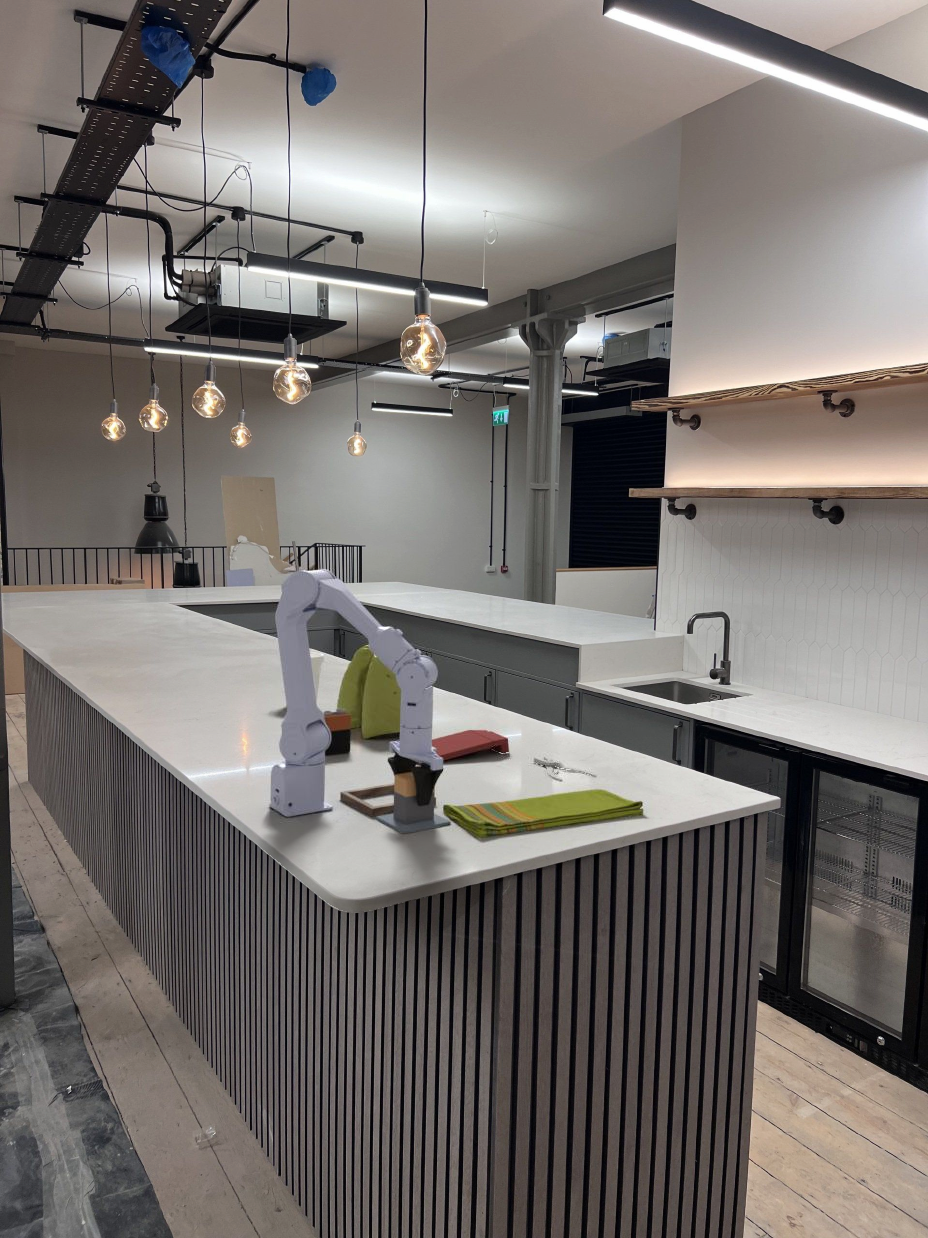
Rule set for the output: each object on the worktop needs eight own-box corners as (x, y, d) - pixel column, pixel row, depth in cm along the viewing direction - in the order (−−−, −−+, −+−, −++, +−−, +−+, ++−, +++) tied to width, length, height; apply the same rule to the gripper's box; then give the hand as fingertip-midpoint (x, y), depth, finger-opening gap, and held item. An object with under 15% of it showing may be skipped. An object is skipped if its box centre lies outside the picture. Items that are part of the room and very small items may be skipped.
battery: (351, 752, 206) (352, 710, 205) (324, 756, 202) (325, 713, 201) (342, 748, 210) (342, 707, 209) (316, 752, 206) (316, 709, 205)
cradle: (372, 817, 160) (372, 808, 160) (340, 799, 170) (340, 792, 170) (435, 805, 169) (436, 797, 169) (402, 789, 178) (402, 782, 178)
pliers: (559, 775, 188) (521, 758, 201) (559, 783, 188) (521, 765, 201) (597, 771, 193) (557, 755, 206) (596, 778, 193) (557, 761, 206)
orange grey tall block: (405, 825, 155) (406, 780, 154) (393, 818, 158) (394, 774, 158) (433, 819, 159) (435, 775, 158) (421, 813, 162) (422, 770, 161)
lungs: (425, 737, 225) (428, 642, 222) (370, 743, 216) (372, 645, 214) (380, 718, 246) (382, 631, 243) (328, 723, 237) (330, 633, 235)
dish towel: (439, 815, 165) (440, 798, 164) (597, 795, 181) (598, 779, 181) (478, 842, 151) (479, 823, 151) (645, 818, 167) (646, 801, 167)
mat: (403, 833, 152) (403, 831, 152) (376, 819, 159) (376, 816, 159) (450, 824, 158) (450, 821, 158) (422, 810, 165) (422, 808, 165)
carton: (418, 782, 198) (513, 755, 209) (416, 761, 197) (511, 735, 208) (396, 769, 208) (488, 744, 220) (394, 749, 207) (486, 725, 219)
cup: (315, 712, 251) (316, 658, 249) (273, 709, 252) (273, 655, 251) (328, 703, 263) (329, 652, 261) (288, 701, 265) (289, 650, 263)
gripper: (458, 731, 153) (455, 807, 155) (412, 715, 165) (410, 787, 166) (424, 735, 149) (422, 814, 151) (380, 719, 161) (378, 792, 162)
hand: (413, 800), depth 158 cm, fingers open, 6 cm apart
